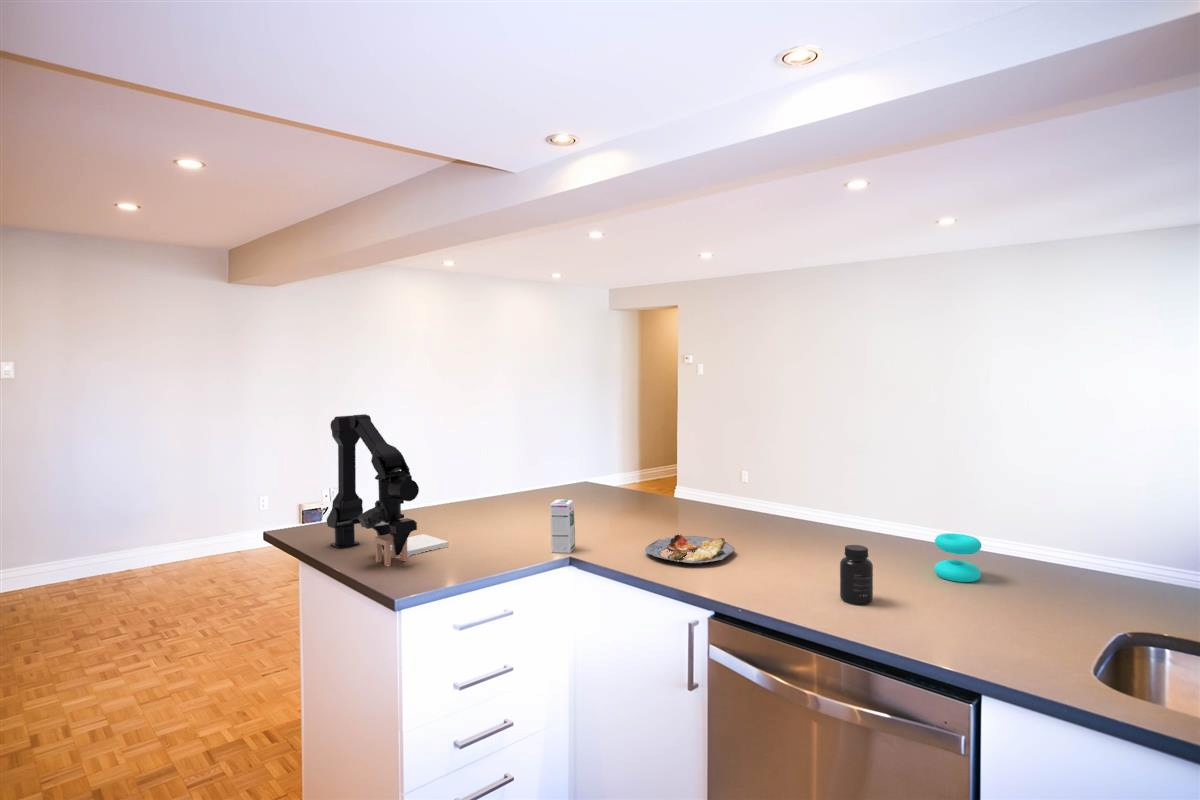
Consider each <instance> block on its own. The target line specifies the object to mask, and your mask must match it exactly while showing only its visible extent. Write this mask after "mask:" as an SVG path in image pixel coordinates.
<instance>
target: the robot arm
mask: <svg viewBox="0 0 1200 800" xmlns="http://www.w3.org/2000/svg"><path fill="white" fill-rule="evenodd" d="M330 431H331V437H332V439H333V440H334V442H335V443H336V445H337V451H338V452H337V454H338V455H337V457H338V459H337V470H338V472H337V473H338V474H337V475H338V476H337V478H338V481H337V482H338V484H337V485H338V491H337V493H336V496H335V497H334V499H332V506H331V510H330V512H329V514H328V516H327V518H326V525H327V527H329V528H332V529H334V542H330V546H332V547H335V548H337V549H343V548H347V547H352V546H356V545H360V543H361V542H360V541H356V535H355V534H356V532H355V528H356V527H355V525H356V524H360V525H361V528H365V529H367V530H368V529H372V530H374V531H375V532H376V534H377V536H381V535H386V534H390V535H391V536H392V537H393V542H394V549H395V554H396V555H398V556H399V555H400V553H401V551H402V549H403V546H404V544H405V542H406V540H407V538H408V537H410V534H411V533H413V532H414V531H417V530H418V522H417V521H416V520H414V519H413V518H408V517H406V518H405V514H403V513H402V507H401V506H402V504H403V505H404V504H405V502H411V501H414V500H415V499H417V496H418V495H419V492H420V487H419V485H418V483H417V482H416V481H415V480H414V479H413V477H412V475H411V472H410V469H411V468H410V467H409V465H408V464H407V462H406V460H405V456H404V455H403V454H402V452H401V451H400V450H399V449H398V448H397V447H396V446H394V445H391V444H389V443H387V441H386V440H385V439H384V437H383V436H382V434H381V433H380V432H379V430H378V429H377V427H376V426H375V425H374V423H373V421H372V419H371V417H370V415H369V414H365V413H363V414H351V415H341V416H340V415H339V416H334V418H333V419H331V422H330ZM360 439H361V440H362V442H363V443H364V445H365V446H366V448H367V449H368V451H369V452H370V454H371V461H370V463H371V464H372V466H373V469H374V470H375V472H376V473H377V475H375V476H374V479H375V480H377V482H378V500H375V502H374V507H372V508H370V509H368V510H366V511H364V509H363V499H362V498H361V497H359V495H358V494H357V491H356V487H357V486H356V482H357V481H356V477H357V476H356V470H357V467H356V466H357V465H356V463H357V462H356V447H357V443H358V442H359V440H360ZM381 547H382V550H383V551H384V546H383V545H381ZM400 556H401V555H400Z"/></svg>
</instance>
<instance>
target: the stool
mask: <svg viewBox="0 0 1200 800" xmlns="http://www.w3.org/2000/svg"><path fill="white" fill-rule="evenodd" d="M374 545H375V547H374V549H375V562H376V561H377V562H379V563H381V562H380V561H382V562H383V560H384V563H383V564H384V566H385V565H386V566H385V567H388V566H387V565H390V566H392V561H391V559H392V557H394V558H395V559H397V558H396V557H399V555H396V554H395V549H394V542H393V537H392V536H391V535H390V534H386V535H381V536H378V535H377V536H374ZM381 545H383V546H384V550H383V549H382V546H381ZM390 545H392V551H390ZM382 550H383V553H382ZM391 552H392V555H391ZM383 556H384V557H383ZM391 556H392V557H391ZM400 556H401V557H400V559H401V562H402V561H406V562H408V557H407V540H406V542H405V544H404V546H403V549H402V551H401V555H400ZM383 558H384V559H383ZM394 558H393V559H394ZM377 562H376V563H377Z"/></svg>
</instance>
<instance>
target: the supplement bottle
mask: <svg viewBox="0 0 1200 800" xmlns="http://www.w3.org/2000/svg"><path fill="white" fill-rule="evenodd" d="M873 591H874V565H873V561H871V559H869V548H868V547H866V546H864V545H861V544H847V545H846V546H844V556H843V558H841V559H840V563H839V595H840V599H841V600H842V601H843V602H844V603H846V602H847V603H846V604H849V605H856V606H867V605H870V604H871V603H872V602H873V599H874V597H873V596H874V592H873Z"/></svg>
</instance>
